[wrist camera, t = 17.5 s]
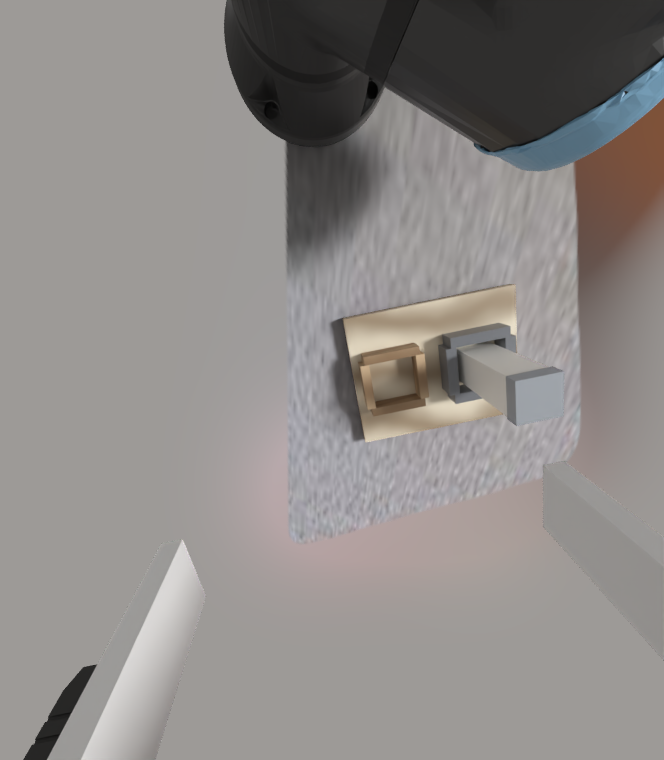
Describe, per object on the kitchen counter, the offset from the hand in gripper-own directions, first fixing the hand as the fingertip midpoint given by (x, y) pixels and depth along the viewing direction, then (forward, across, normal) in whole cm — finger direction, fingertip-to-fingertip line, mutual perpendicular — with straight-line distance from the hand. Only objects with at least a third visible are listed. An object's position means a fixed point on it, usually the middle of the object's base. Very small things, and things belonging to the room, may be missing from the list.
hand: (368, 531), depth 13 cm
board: (+31, +12, -5) cm, 34 cm away
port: (+29, +17, -6) cm, 35 cm away
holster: (+29, +7, -5) cm, 31 cm away
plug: (+29, +17, -5) cm, 34 cm away
